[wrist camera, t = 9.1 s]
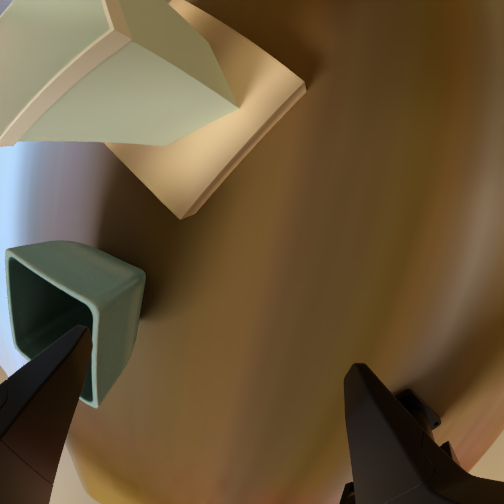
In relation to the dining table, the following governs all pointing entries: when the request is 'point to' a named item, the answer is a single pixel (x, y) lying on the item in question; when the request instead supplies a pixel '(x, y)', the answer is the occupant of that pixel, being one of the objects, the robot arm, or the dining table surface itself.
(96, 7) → the tea tin
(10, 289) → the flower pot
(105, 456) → the dining table surface
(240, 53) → the tan square coaster
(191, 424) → the dining table surface
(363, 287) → the dining table surface
